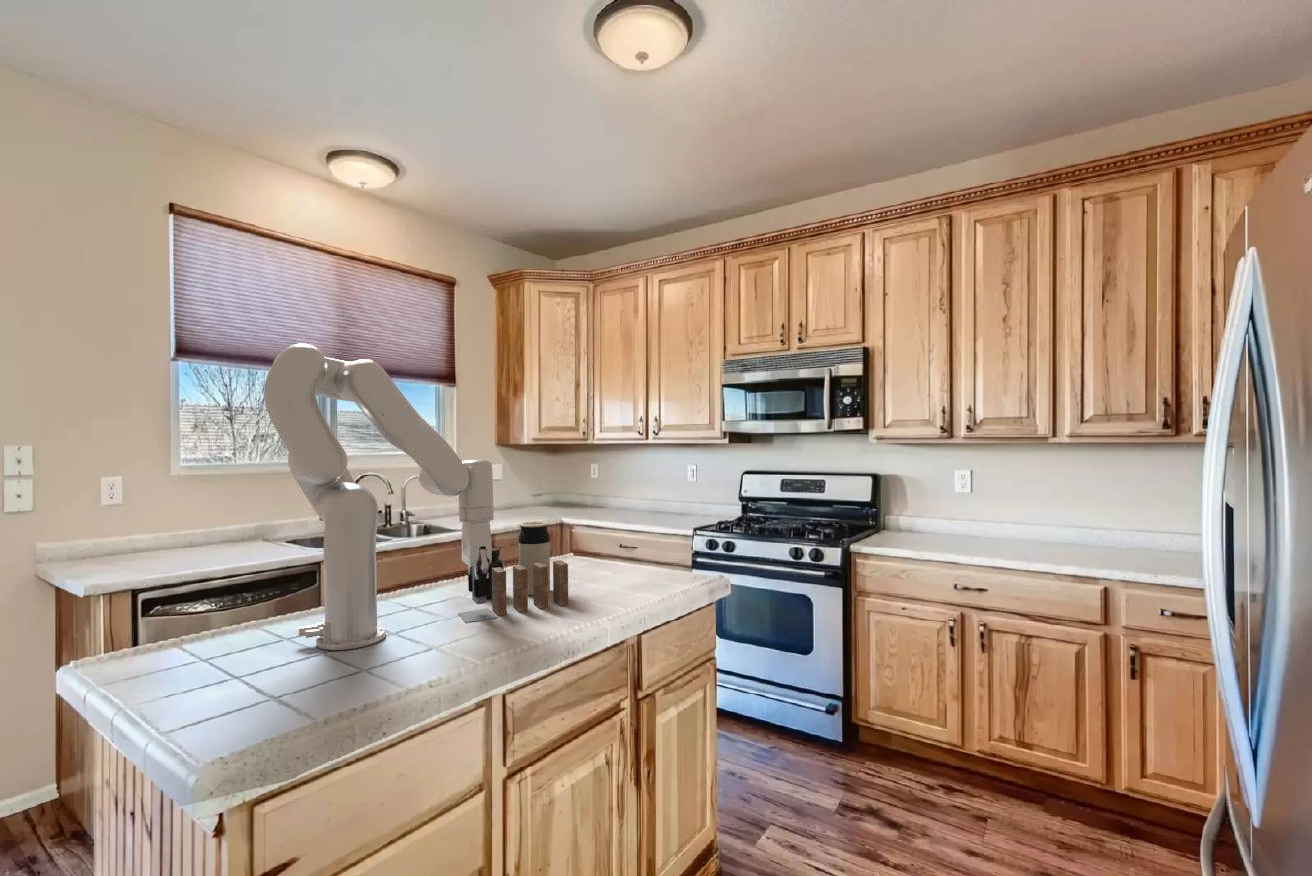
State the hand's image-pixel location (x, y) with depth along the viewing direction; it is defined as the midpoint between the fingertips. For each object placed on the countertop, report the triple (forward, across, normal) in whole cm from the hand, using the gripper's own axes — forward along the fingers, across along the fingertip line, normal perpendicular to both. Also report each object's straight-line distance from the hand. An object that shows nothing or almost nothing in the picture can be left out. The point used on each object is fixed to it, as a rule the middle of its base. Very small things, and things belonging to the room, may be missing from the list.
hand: (478, 592), depth 143 cm
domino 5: (+6, 0, +20) cm, 20 cm away
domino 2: (+5, 0, +5) cm, 7 cm away
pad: (+5, 0, 0) cm, 5 cm away
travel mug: (+6, -14, +18) cm, 23 cm away
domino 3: (+5, 0, +10) cm, 11 cm away
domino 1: (+2, 0, 0) cm, 2 cm away
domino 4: (+5, 0, +15) cm, 16 cm away
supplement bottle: (+6, -16, +7) cm, 18 cm away
